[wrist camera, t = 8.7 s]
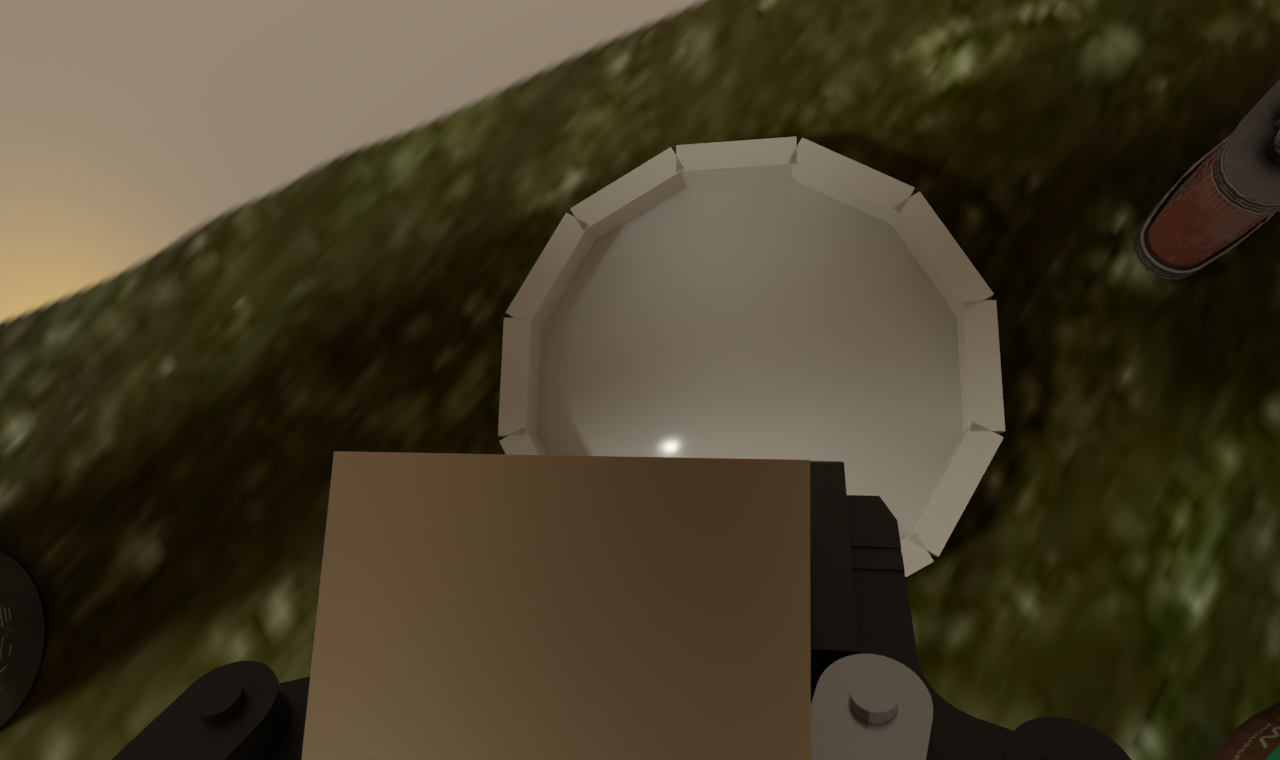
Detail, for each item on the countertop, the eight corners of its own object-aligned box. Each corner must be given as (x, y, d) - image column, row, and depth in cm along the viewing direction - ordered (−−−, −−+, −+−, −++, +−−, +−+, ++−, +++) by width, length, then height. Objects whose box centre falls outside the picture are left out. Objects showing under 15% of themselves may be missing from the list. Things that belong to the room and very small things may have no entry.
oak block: (607, 699, 18) (279, 971, 6) (616, 511, 19) (334, 451, 7) (797, 713, 17) (811, 1045, 6) (798, 517, 18) (810, 460, 6)
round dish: (505, 619, 35) (483, 624, 33) (525, 177, 39) (507, 153, 37) (1009, 636, 32) (1026, 644, 29) (976, 146, 36) (988, 117, 33)
